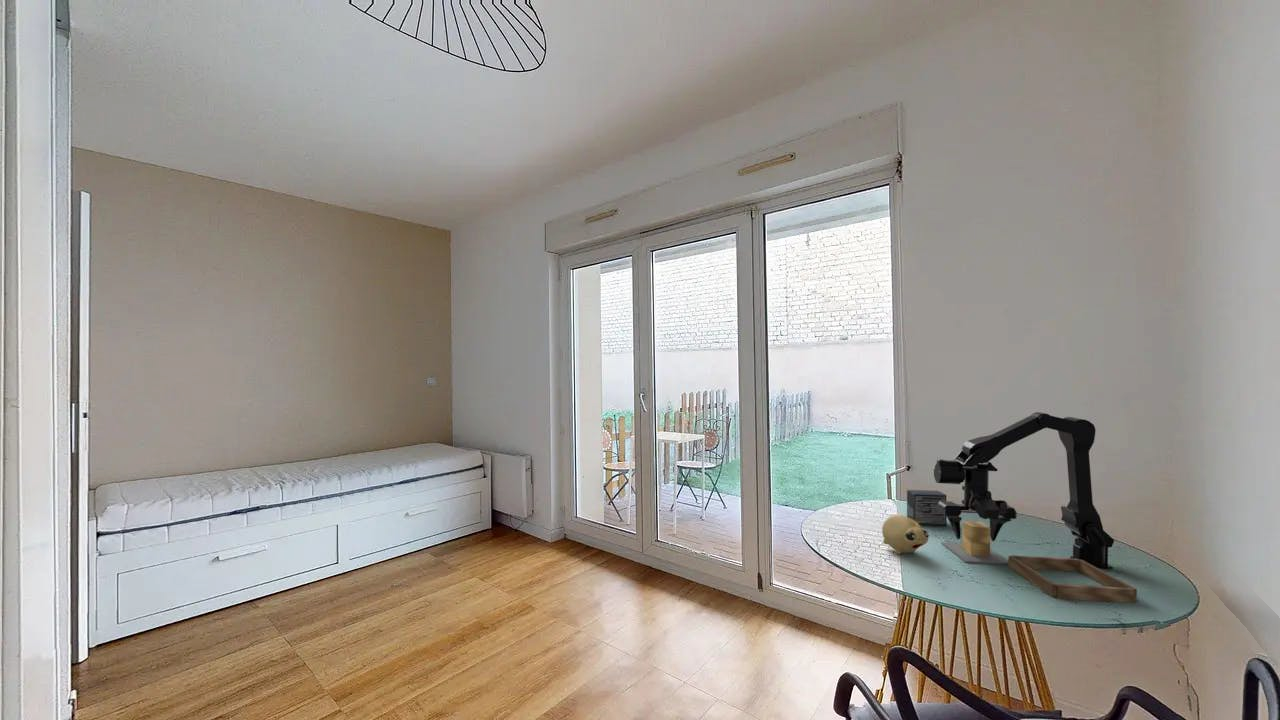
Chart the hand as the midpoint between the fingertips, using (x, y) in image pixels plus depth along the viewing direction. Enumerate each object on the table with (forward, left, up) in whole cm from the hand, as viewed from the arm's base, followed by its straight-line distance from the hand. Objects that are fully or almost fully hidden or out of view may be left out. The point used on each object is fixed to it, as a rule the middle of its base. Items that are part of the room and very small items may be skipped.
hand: (975, 539), depth 145 cm
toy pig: (+20, +2, -4) cm, 21 cm away
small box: (+2, -27, -4) cm, 27 cm away
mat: (0, 0, -4) cm, 4 cm away
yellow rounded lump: (+12, -18, -4) cm, 22 cm away
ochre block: (0, 0, -4) cm, 4 cm away
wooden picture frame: (-13, +17, -4) cm, 22 cm away
